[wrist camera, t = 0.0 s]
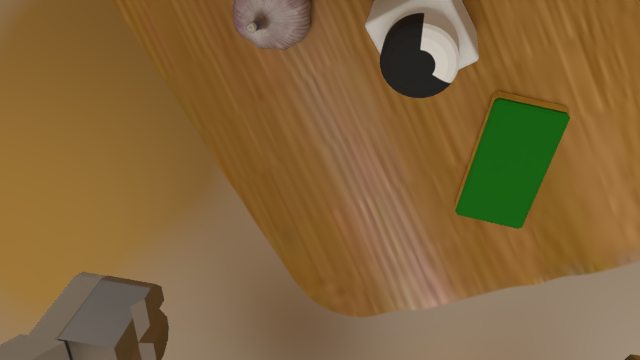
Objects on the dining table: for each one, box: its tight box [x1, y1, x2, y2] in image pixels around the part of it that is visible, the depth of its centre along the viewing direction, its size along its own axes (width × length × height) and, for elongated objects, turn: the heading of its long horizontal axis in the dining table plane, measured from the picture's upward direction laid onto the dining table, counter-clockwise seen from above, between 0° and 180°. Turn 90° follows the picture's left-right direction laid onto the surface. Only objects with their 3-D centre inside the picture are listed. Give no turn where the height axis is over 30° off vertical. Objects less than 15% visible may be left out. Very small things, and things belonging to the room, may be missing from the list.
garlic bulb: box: [233, 0, 311, 50], centre depth 54 cm, size 8×7×8 cm
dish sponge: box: [455, 91, 570, 229], centre depth 61 cm, size 7×14×2 cm, turn 171°
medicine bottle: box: [365, 0, 479, 98], centre depth 50 cm, size 7×7×12 cm
